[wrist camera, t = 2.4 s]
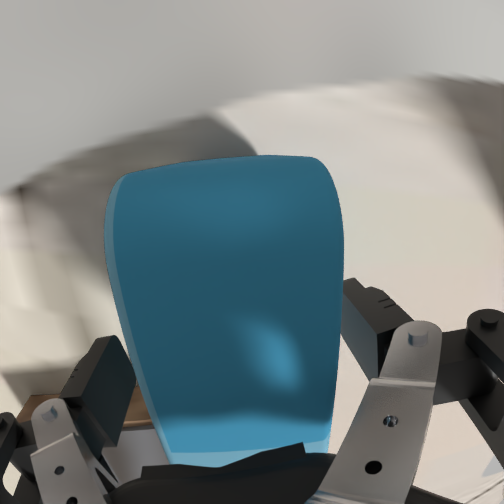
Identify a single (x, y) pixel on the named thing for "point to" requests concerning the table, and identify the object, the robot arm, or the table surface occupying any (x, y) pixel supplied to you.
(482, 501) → the table surface
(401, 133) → the table surface
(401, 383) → the robot arm
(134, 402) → the stand
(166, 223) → the blue rectangular block
